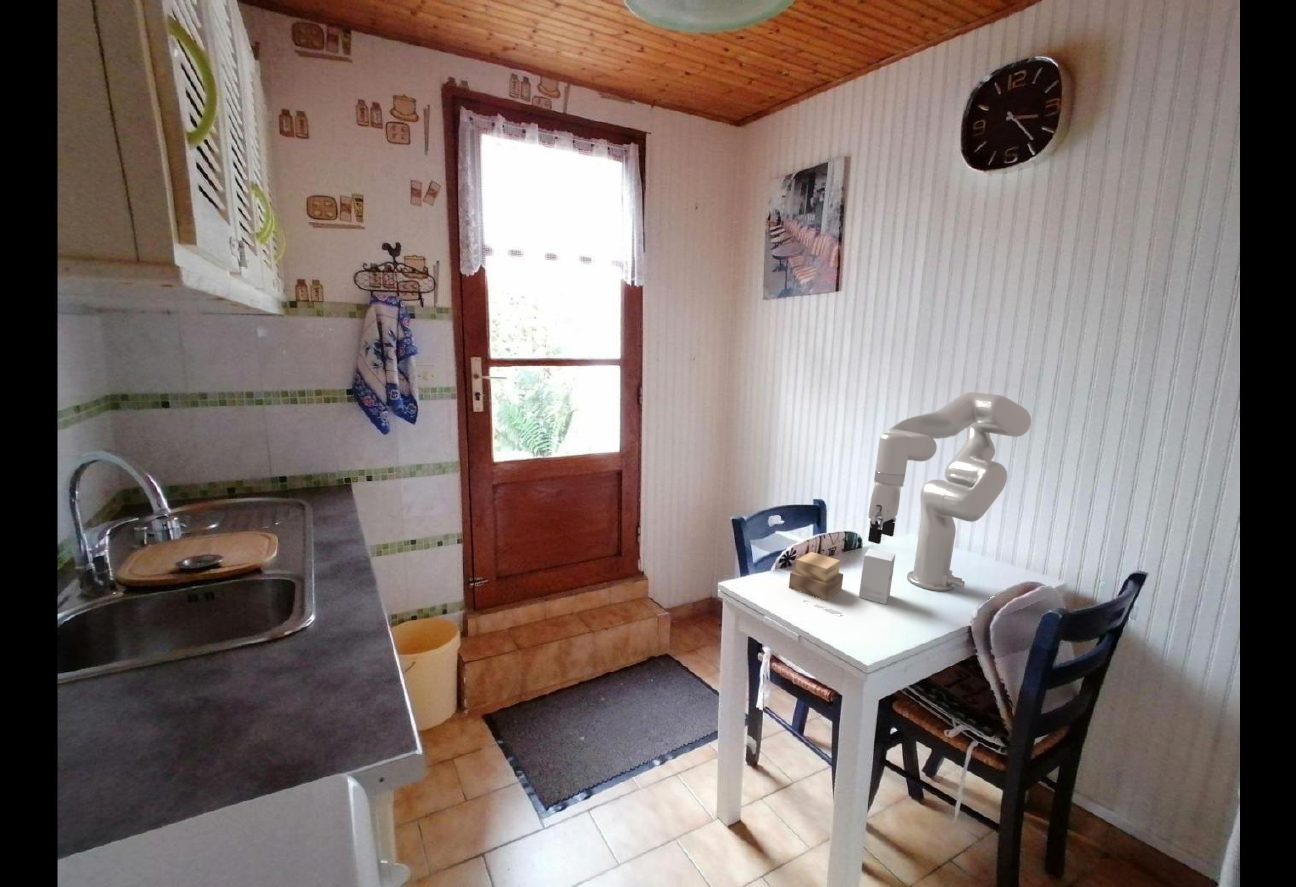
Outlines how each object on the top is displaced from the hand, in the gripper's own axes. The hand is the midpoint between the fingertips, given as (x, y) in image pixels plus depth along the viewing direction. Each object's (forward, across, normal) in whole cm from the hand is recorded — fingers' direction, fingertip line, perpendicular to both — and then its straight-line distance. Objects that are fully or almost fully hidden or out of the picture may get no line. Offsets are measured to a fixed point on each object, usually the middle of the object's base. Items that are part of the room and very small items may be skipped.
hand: (880, 538), depth 155 cm
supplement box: (+17, -1, 0) cm, 17 cm away
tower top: (+13, +7, -14) cm, 20 cm away
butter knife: (+18, +17, -13) cm, 28 cm away
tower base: (+18, +7, -14) cm, 24 cm away
